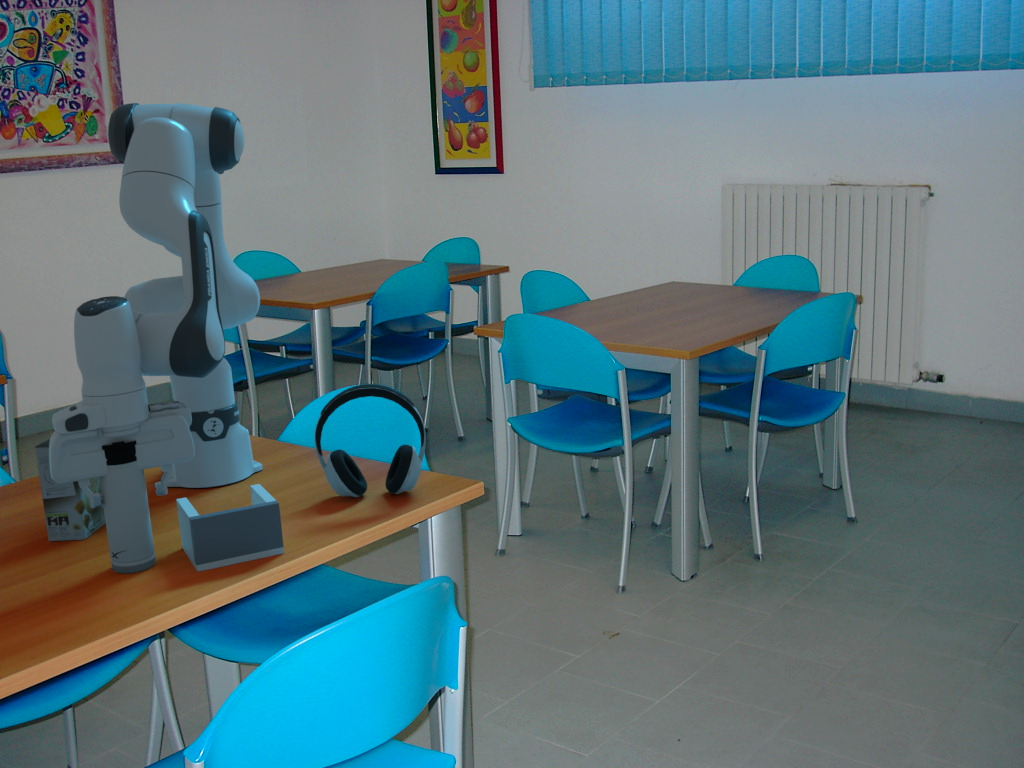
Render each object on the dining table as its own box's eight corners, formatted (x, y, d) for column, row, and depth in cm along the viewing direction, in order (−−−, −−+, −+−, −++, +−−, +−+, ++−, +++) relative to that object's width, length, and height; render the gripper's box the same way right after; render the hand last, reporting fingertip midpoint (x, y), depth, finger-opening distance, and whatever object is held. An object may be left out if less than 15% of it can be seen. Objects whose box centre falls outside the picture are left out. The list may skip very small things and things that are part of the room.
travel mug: (114, 578, 159) (95, 446, 155) (111, 563, 165) (93, 436, 161) (158, 569, 161) (141, 439, 157) (153, 555, 167) (137, 430, 163)
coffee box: (86, 540, 176) (72, 445, 173) (47, 542, 177) (33, 446, 173) (108, 521, 185) (95, 430, 182) (71, 523, 186) (58, 432, 182)
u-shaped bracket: (182, 547, 170) (176, 499, 168) (264, 531, 176) (259, 483, 174) (197, 571, 160) (191, 520, 158) (284, 553, 165) (278, 503, 163)
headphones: (429, 484, 196) (421, 375, 192) (430, 498, 188) (421, 385, 184) (322, 493, 194) (311, 384, 190) (318, 507, 186) (307, 394, 182)
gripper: (185, 395, 166) (196, 482, 168) (40, 416, 157) (55, 508, 159) (193, 402, 160) (204, 492, 163) (44, 424, 151) (58, 519, 154)
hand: (129, 500), depth 161 cm, fingers open, 8 cm apart
